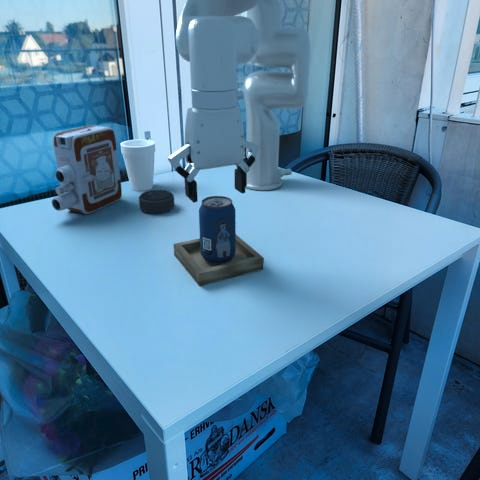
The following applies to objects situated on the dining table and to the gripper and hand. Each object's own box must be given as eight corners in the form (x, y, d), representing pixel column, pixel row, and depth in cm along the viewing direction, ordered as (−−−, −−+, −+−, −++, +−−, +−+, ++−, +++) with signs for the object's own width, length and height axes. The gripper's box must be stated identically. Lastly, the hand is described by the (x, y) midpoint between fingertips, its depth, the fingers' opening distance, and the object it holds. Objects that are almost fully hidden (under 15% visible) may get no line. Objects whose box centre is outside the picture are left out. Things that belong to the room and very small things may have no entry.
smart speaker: (149, 201, 116) (148, 187, 114) (180, 204, 113) (179, 190, 112) (133, 213, 108) (132, 198, 106) (166, 217, 106) (164, 202, 104)
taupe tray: (232, 241, 93) (232, 231, 92) (263, 269, 82) (263, 257, 81) (174, 254, 88) (173, 243, 87) (199, 286, 77) (198, 274, 76)
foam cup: (132, 181, 130) (128, 138, 124) (162, 183, 129) (158, 140, 123) (120, 191, 122) (115, 146, 116) (151, 193, 120) (147, 148, 115)
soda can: (215, 246, 89) (214, 192, 84) (242, 255, 86) (242, 199, 80) (193, 259, 84) (190, 202, 79) (221, 269, 81) (220, 210, 75)
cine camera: (44, 218, 104) (27, 136, 96) (101, 194, 120) (91, 121, 111) (71, 225, 101) (55, 140, 92) (127, 199, 116) (118, 125, 107)
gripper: (249, 93, 78) (248, 182, 86) (157, 100, 71) (165, 196, 79) (270, 99, 72) (267, 194, 80) (172, 107, 65) (179, 211, 73)
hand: (216, 195), depth 79 cm, fingers open, 9 cm apart
